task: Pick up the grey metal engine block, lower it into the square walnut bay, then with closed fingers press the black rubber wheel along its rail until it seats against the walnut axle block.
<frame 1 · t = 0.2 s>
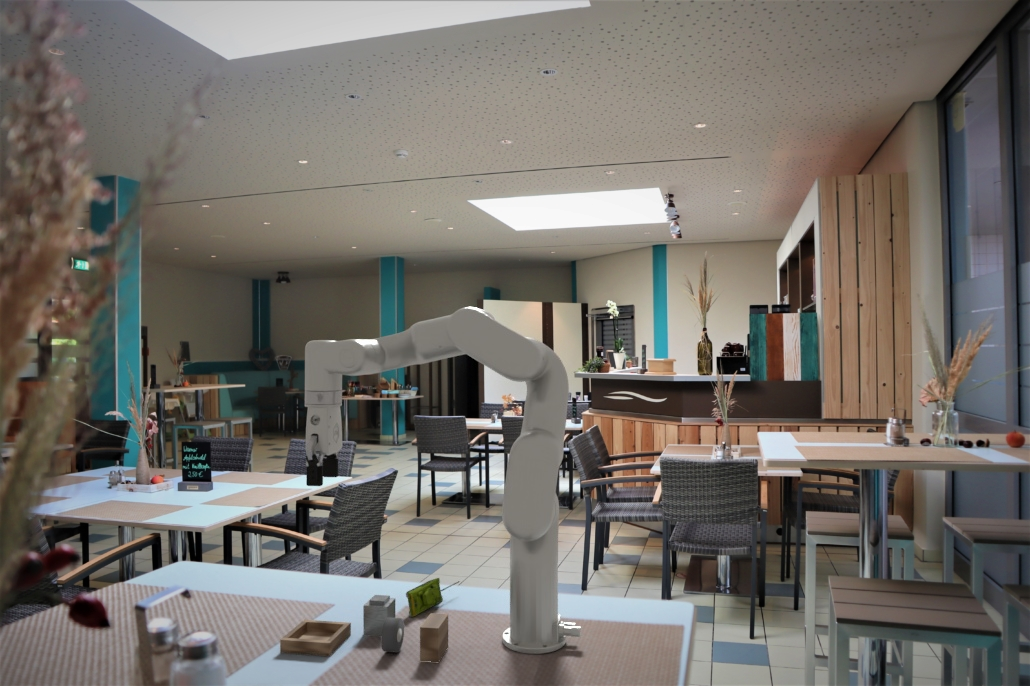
hand: (322, 481, 145), 30 cm above the table, tool pointing down, fingers open, 9 cm apart
engine block: (379, 631, 143), on the table
axle block: (434, 654, 132), on the table
toy tank: (438, 606, 158), on the table
wheel: (392, 634, 133), point 3 cm above the table, slide at 0.0 cm
bay: (316, 643, 137), on the table
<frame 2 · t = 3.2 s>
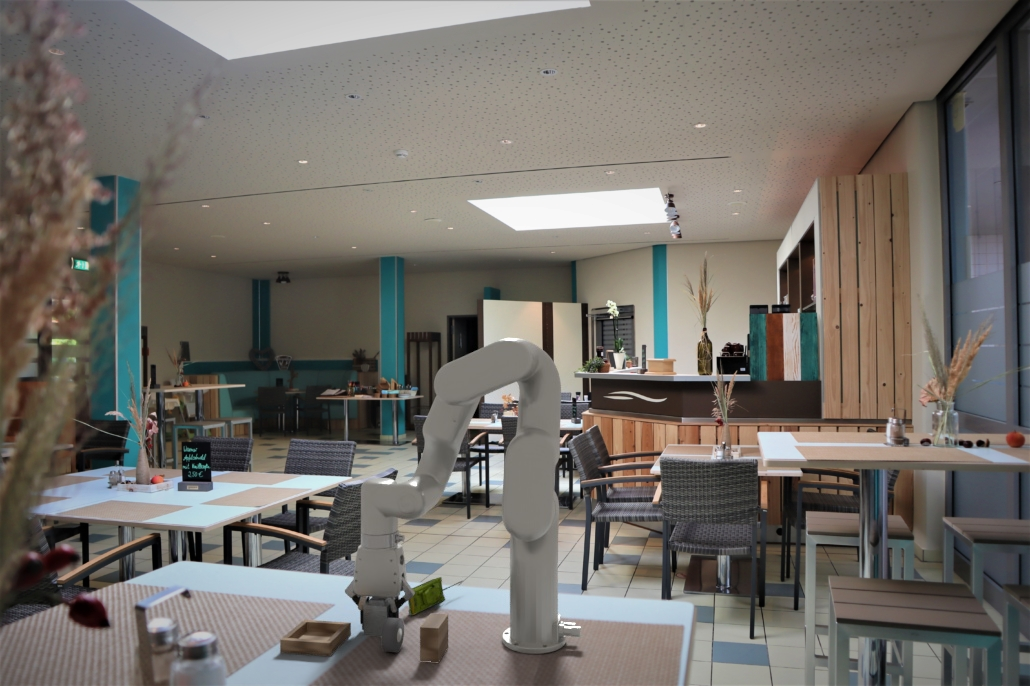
hand: (379, 627, 143), 1 cm above the table, tool pointing down, fingers closed on engine block, 5 cm apart
engine block: (379, 631, 143), on the table, touching gripper
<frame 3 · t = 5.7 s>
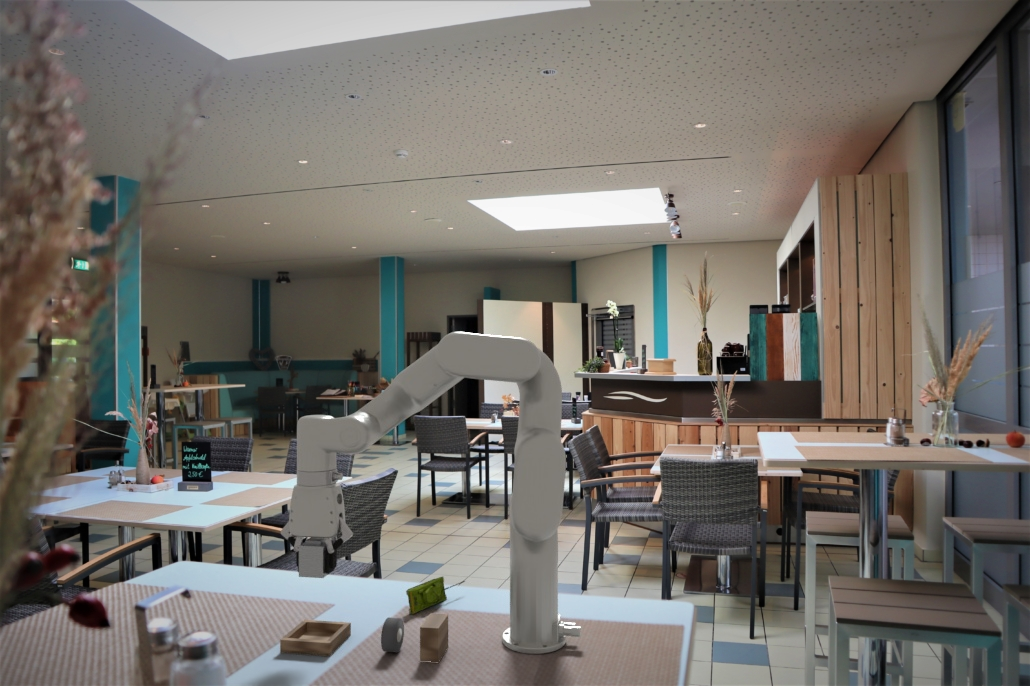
hand: (316, 569, 137), 14 cm above the table, tool pointing down, fingers closed on engine block, 5 cm apart
engine block: (316, 573, 137), point 14 cm above the table, touching gripper
when the fingers open (3 cm above the table, at t = 8.0 s): engine block drops 2 cm, resting on bay.
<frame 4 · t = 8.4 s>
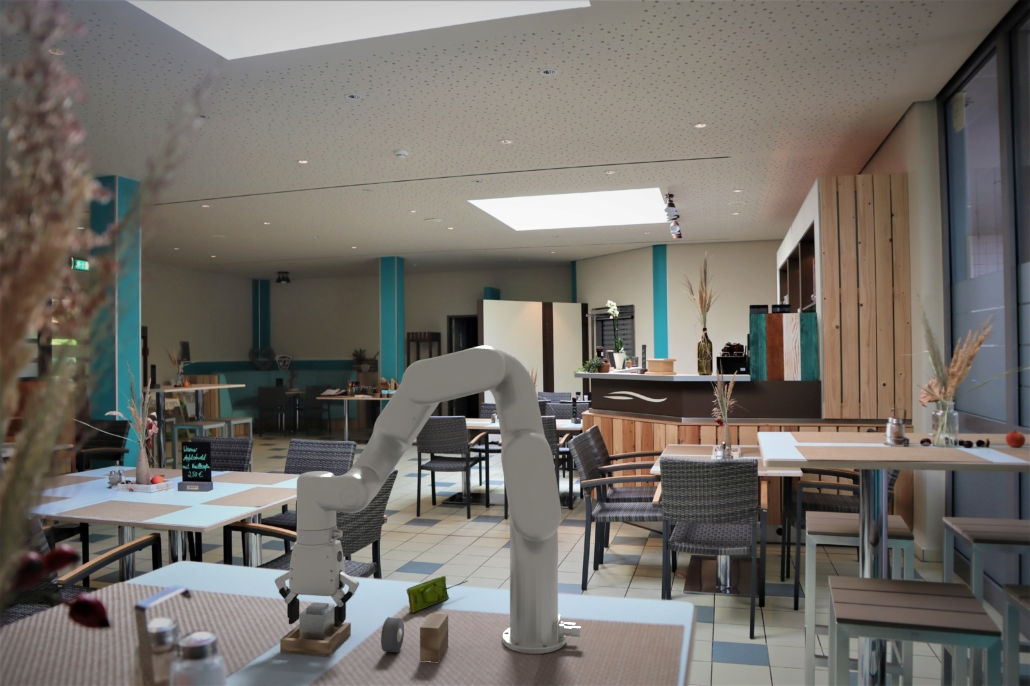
hand: (316, 623, 137), 4 cm above the table, tool pointing down, fingers open, 9 cm apart
engine block: (317, 640, 137), point 1 cm above the table, touching bay
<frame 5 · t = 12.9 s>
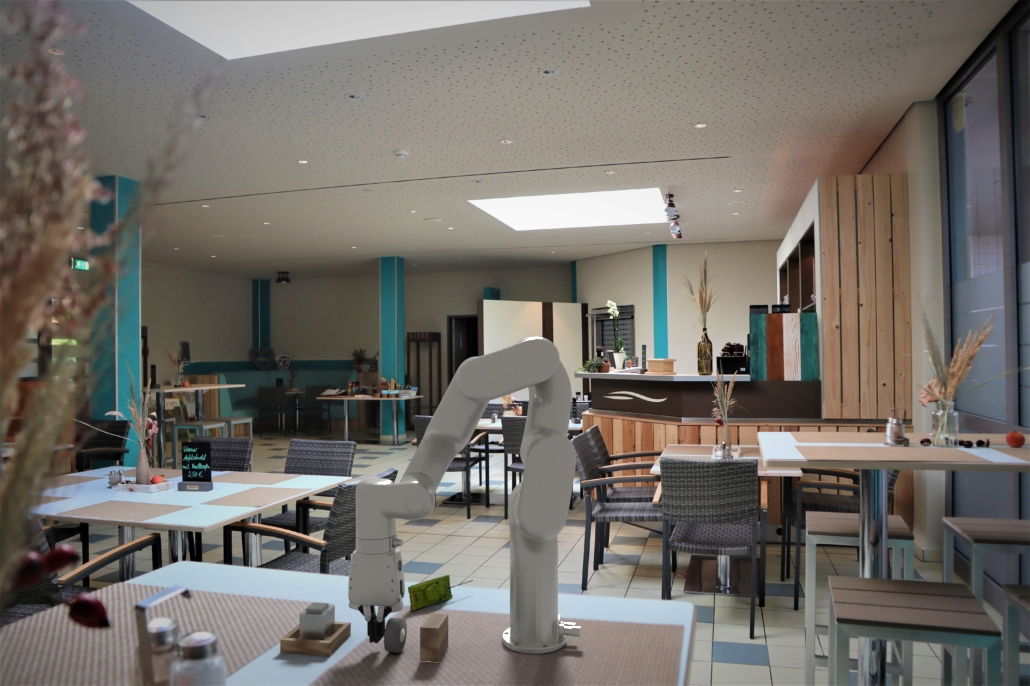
hand: (376, 639, 134), 2 cm above the table, tool pointing down, fingers closed
wheel: (395, 634, 133), point 3 cm above the table, slide at 0.6 cm, touching gripper
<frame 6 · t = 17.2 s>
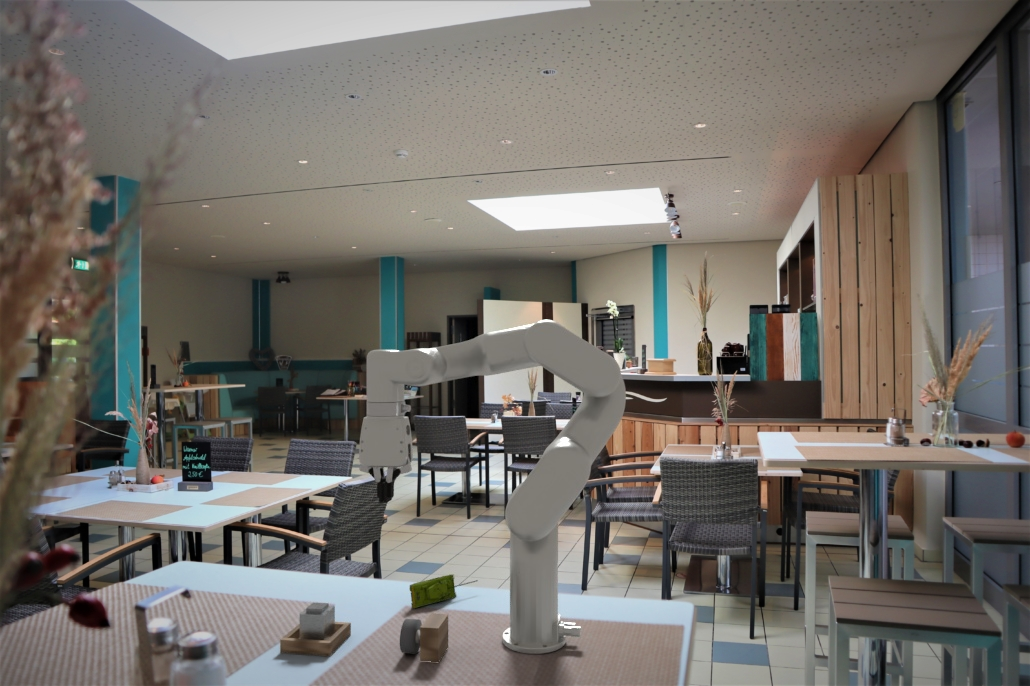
hand: (385, 500, 141), 27 cm above the table, tool pointing down, fingers closed
wheel: (411, 635, 133), point 3 cm above the table, slide at 3.7 cm
at the end: engine block 0.2 cm off-centre on the bay, point 0.6 cm above the bay's base; engine block tilted 0°; wheel slide at 3.7 cm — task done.
